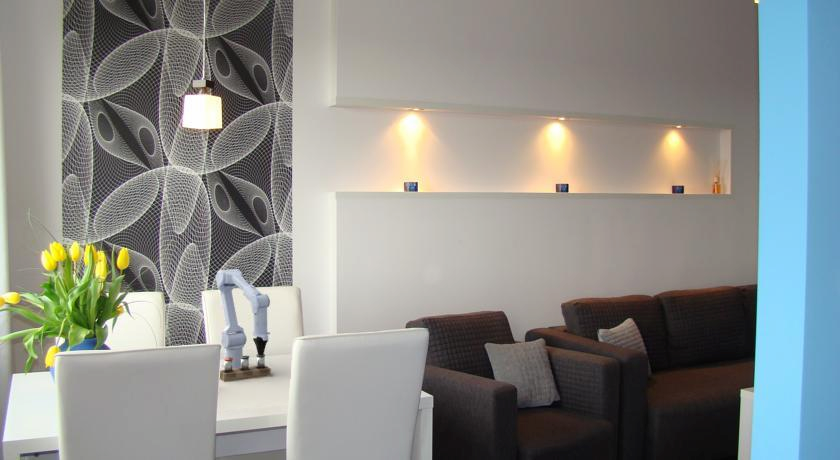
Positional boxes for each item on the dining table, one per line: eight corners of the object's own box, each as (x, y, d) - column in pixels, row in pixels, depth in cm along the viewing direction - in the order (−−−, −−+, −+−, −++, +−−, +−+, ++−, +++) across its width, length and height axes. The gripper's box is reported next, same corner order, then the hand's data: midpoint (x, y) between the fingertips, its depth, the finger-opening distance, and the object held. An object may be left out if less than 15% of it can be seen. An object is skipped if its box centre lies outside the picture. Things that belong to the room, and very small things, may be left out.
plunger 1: (239, 369, 310) (239, 356, 310) (247, 368, 312) (247, 355, 312) (242, 370, 307) (241, 357, 307) (250, 369, 309) (250, 356, 309)
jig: (218, 377, 308) (218, 370, 308) (264, 371, 318) (264, 365, 318) (224, 381, 301) (224, 374, 301) (270, 375, 311) (270, 368, 311)
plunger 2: (255, 367, 314) (255, 354, 313) (263, 366, 315) (263, 353, 315) (258, 368, 310) (258, 355, 310) (266, 367, 312) (266, 355, 312)
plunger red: (223, 371, 306) (222, 358, 306) (231, 370, 308) (231, 357, 308) (225, 373, 303) (225, 359, 303) (234, 371, 305) (233, 358, 305)
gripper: (275, 324, 308) (275, 356, 308) (264, 319, 320) (264, 350, 321) (258, 326, 304) (259, 358, 305) (248, 321, 317) (248, 352, 317)
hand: (260, 354), depth 313 cm, fingers closed
